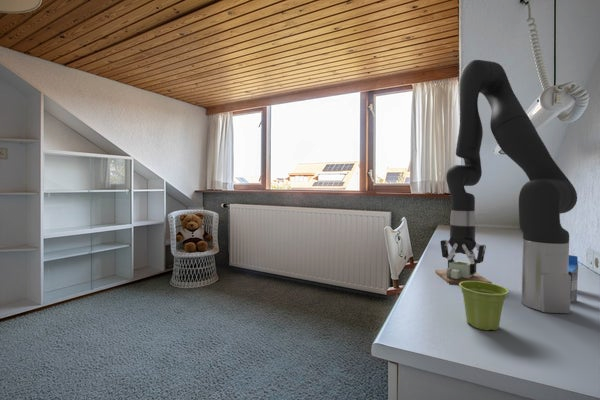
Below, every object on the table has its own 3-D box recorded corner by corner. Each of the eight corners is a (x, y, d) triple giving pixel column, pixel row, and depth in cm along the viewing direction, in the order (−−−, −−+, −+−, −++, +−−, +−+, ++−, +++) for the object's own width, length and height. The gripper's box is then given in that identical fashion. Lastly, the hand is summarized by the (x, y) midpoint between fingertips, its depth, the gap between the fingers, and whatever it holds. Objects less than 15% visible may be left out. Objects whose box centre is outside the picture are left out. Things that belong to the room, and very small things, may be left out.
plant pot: (463, 312, 73) (463, 278, 73) (509, 323, 67) (510, 285, 67) (454, 326, 66) (455, 287, 65) (505, 339, 60) (506, 297, 59)
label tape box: (532, 293, 86) (533, 251, 86) (539, 290, 88) (540, 250, 88) (570, 303, 79) (572, 257, 78) (577, 300, 81) (579, 256, 80)
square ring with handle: (455, 271, 105) (456, 260, 105) (474, 275, 100) (474, 263, 100) (444, 276, 99) (444, 264, 99) (463, 280, 94) (463, 268, 94)
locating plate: (491, 285, 93) (492, 271, 93) (448, 283, 95) (449, 270, 95) (472, 273, 106) (473, 261, 106) (435, 272, 108) (435, 260, 108)
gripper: (436, 222, 103) (435, 270, 104) (482, 226, 92) (481, 279, 93) (445, 221, 108) (444, 266, 109) (490, 224, 97) (489, 274, 98)
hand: (461, 272), depth 101 cm, fingers closed on square ring with handle, 6 cm apart
